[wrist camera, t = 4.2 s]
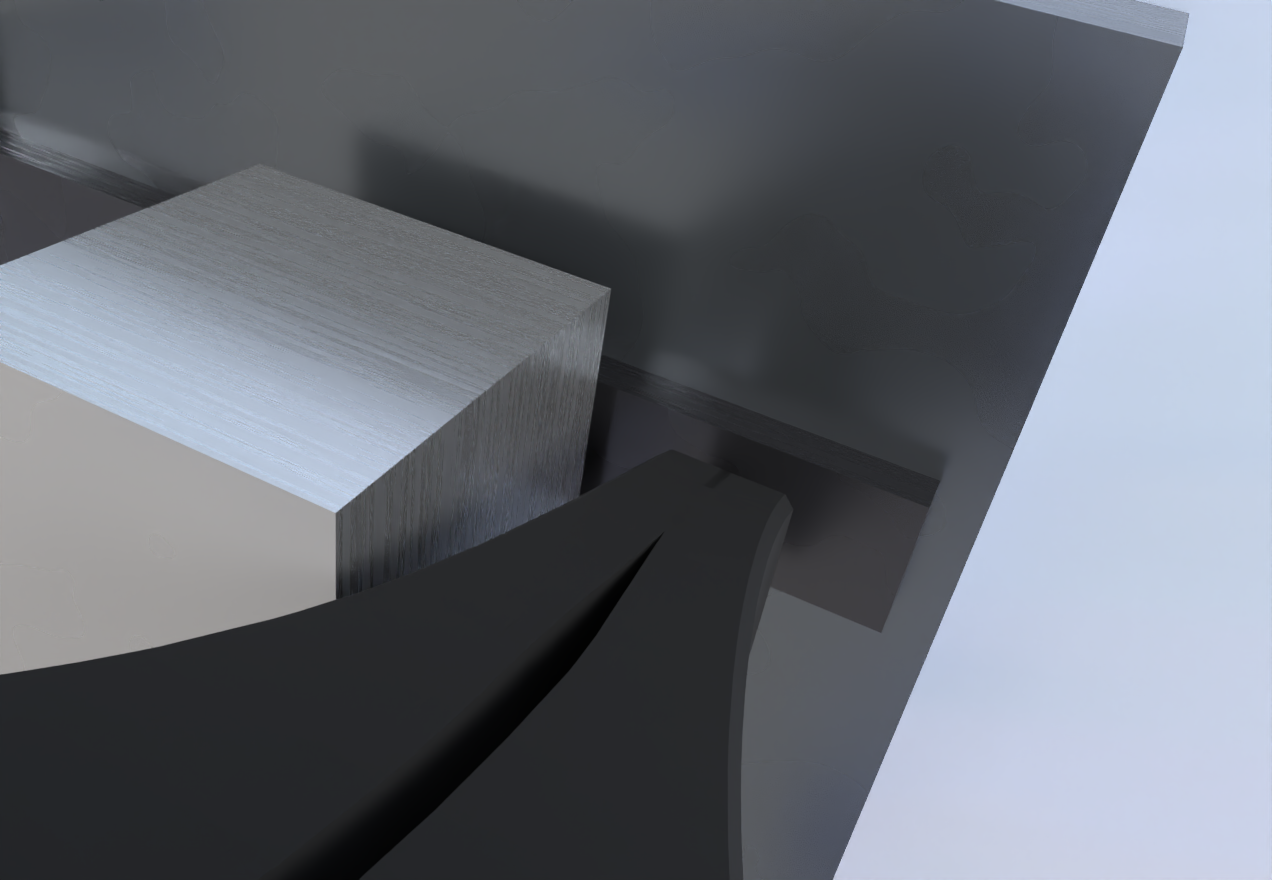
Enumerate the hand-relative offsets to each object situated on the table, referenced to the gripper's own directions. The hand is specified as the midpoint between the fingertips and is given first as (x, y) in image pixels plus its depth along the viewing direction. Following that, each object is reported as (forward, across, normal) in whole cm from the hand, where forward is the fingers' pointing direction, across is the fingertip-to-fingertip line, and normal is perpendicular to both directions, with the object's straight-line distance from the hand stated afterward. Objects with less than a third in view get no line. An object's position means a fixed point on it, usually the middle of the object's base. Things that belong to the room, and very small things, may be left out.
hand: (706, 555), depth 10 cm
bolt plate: (+3, +7, +2) cm, 8 cm away
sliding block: (+1, +4, +1) cm, 4 cm away
